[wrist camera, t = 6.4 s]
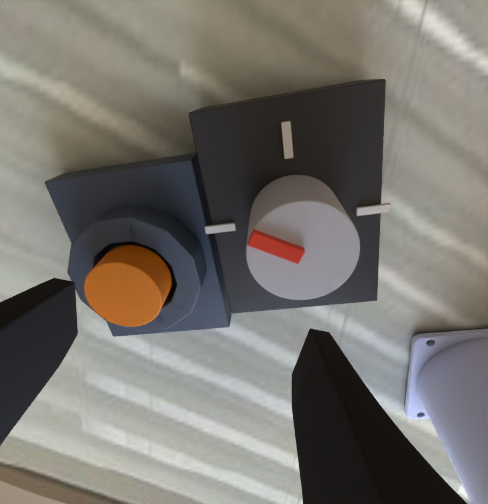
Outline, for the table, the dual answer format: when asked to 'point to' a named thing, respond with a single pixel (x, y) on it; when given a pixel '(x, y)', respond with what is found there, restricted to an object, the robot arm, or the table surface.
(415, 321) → the table surface
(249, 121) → the dial panel
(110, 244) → the button base
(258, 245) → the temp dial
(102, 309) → the button
